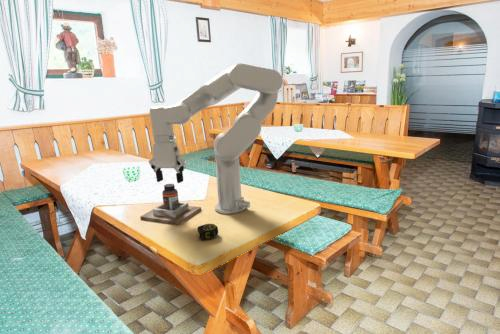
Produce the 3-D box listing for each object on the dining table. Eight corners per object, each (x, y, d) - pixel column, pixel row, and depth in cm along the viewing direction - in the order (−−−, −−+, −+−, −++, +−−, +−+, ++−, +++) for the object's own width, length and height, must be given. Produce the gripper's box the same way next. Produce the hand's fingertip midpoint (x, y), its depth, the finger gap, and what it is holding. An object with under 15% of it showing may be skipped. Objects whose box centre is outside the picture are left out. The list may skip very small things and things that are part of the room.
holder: (201, 210, 146) (200, 201, 145) (178, 225, 132) (177, 215, 131) (165, 205, 153) (164, 197, 152) (140, 219, 139) (139, 210, 138)
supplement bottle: (162, 211, 143) (159, 184, 140) (175, 208, 146) (172, 181, 144) (168, 215, 138) (165, 188, 136) (182, 211, 142) (179, 184, 139)
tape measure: (197, 234, 124) (196, 224, 123) (217, 231, 125) (216, 221, 124) (199, 242, 117) (198, 232, 116) (219, 239, 119) (219, 229, 118)
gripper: (188, 136, 135) (193, 179, 139) (152, 137, 142) (158, 177, 146) (176, 140, 128) (183, 185, 133) (139, 140, 135) (146, 183, 140)
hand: (170, 181), depth 139 cm, fingers open, 9 cm apart
